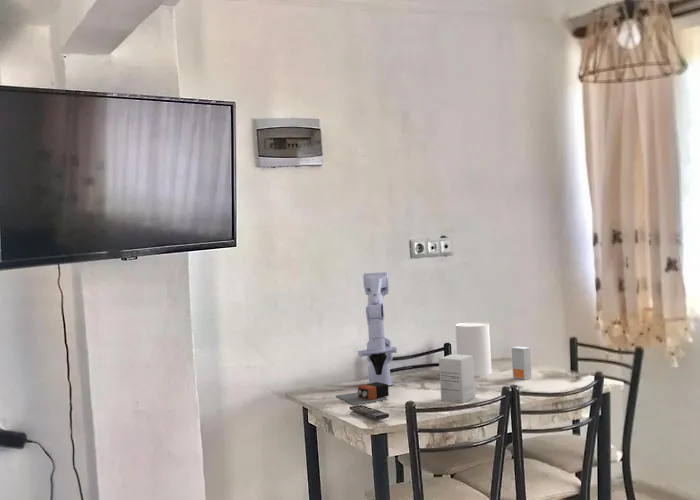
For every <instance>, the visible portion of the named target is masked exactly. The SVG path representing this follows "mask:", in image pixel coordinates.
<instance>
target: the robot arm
mask: <svg viewBox="0 0 700 500" xmlns="http://www.w3.org/2000/svg"><path fill="white" fill-rule="evenodd" d="M362 277H363V278H362V279H363V288H364V293H365V295H366V296H367V306H365V316H366V317H365V318H366V321H367V327H368V331H367V333H368V340H367V343H366V349H363V350H358V351H357V357H359V358H364V357H366V358H367V362H368V363H369V365H368V368H367V369H368V370H367V372H368V381H367V382H366V384H370V383H375V382H379V383H384V384H388V387H390V386H391V385H392V386H395V385H396V384H395V383H393V382H391V381H392V379H391V367H390V366H391V365H390V364H391V363H390V362H392V361H393V359H394V358H393V354H396V353H397V347H395V346H393V344H392V341H391V340H390V339H389V338H388V337H386V336H385V324H384V322H385V321H384V320H385V305H384V299H385V296H387V295H388V294H389V291H390V289H389V287H390V285H389V283H390V281H389V272H388V271H383V272H382V271H381V272H364V273H363V276H362Z"/></svg>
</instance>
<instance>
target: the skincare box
mask: <svg viewBox="0 0 700 500" xmlns="http://www.w3.org/2000/svg"><path fill="white" fill-rule="evenodd" d="M531 361H532V360H531V348H530V347H528V346H518V345H517V346H513V347H511V365H512V366H511V367H512V378H513V379H519V380H524V381H526V380H530V379H532V362H531Z"/></svg>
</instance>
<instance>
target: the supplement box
mask: <svg viewBox="0 0 700 500" xmlns="http://www.w3.org/2000/svg"><path fill="white" fill-rule="evenodd" d="M438 367H439V382H440V383H439V384H440V399H441V400H440V401H441V402H452V403H458V404H459V403H460V404H464V403H466V402H468V401H471V400H473V399H475V398H476V386H475V385H476V384H475V376H474V367H473V356H472V355H458V354H457V353H455V354H454V353H452V354H451V353H450V354H449V355H446V356H443V357H439V358H438Z"/></svg>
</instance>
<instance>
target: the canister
mask: <svg viewBox="0 0 700 500" xmlns="http://www.w3.org/2000/svg"><path fill="white" fill-rule="evenodd" d="M490 336H491V334H490V323H489V322H485V321H469V322H460V323H456V324H455V339H456V341H455V343H456V354H458V355H472V356H473V367H474V377H484V375H485V376H488V375H491V374H492V355H491V339H490V338H491V337H490Z"/></svg>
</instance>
